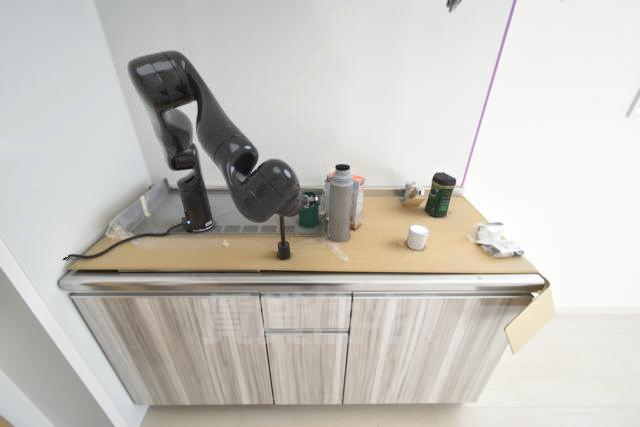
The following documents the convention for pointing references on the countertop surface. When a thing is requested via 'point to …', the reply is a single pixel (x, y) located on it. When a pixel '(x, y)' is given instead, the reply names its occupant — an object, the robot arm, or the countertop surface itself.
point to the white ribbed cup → (417, 236)
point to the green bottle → (309, 214)
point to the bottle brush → (283, 242)
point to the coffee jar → (440, 194)
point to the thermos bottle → (340, 203)
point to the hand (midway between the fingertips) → (296, 205)
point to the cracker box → (356, 199)
